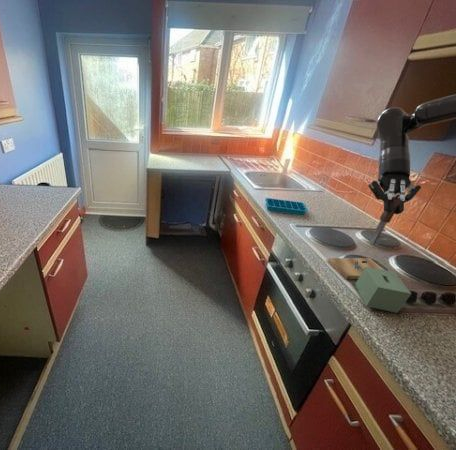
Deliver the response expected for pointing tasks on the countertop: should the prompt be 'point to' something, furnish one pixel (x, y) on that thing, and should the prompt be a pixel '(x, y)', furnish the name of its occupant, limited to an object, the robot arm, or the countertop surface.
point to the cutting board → (352, 266)
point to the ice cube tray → (285, 206)
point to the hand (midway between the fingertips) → (393, 212)
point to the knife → (385, 220)
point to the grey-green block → (382, 289)
